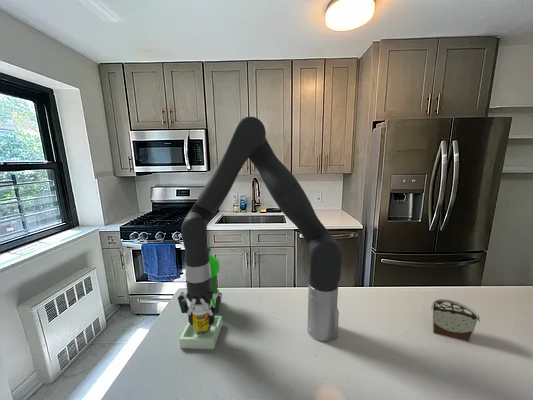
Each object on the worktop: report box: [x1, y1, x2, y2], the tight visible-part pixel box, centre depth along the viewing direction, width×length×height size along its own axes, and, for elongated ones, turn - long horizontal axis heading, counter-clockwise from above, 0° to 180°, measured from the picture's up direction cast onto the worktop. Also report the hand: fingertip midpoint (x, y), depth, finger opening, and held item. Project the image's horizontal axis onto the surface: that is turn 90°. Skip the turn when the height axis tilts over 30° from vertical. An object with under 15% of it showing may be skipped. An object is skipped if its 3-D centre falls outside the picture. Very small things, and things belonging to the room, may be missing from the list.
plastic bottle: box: [207, 244, 221, 308], centre depth 88 cm, size 10×10×25 cm
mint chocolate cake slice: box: [430, 298, 481, 344], centre depth 75 cm, size 12×6×10 cm, turn 65°
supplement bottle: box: [192, 304, 211, 336], centre depth 74 cm, size 6×6×10 cm
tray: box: [179, 315, 223, 350], centre depth 75 cm, size 11×11×3 cm
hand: (202, 323), depth 74 cm, fingers closed on supplement bottle, 5 cm apart
